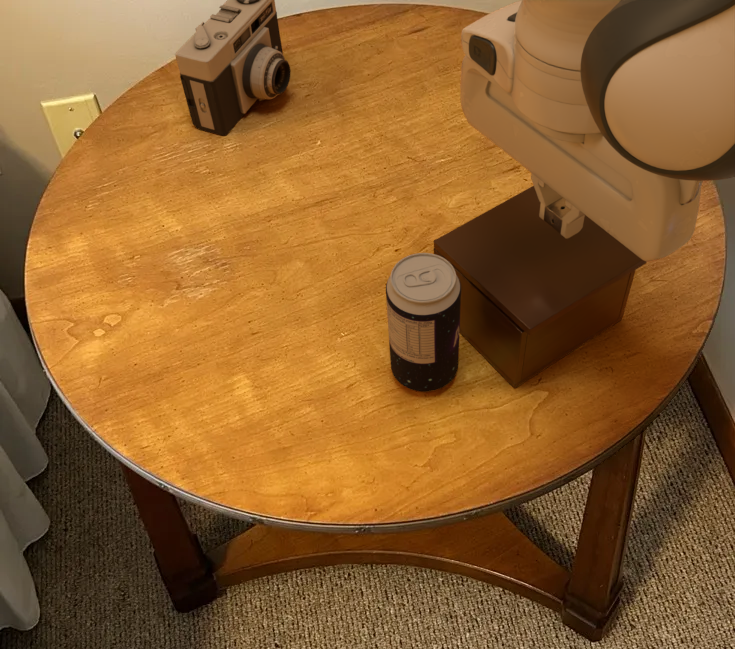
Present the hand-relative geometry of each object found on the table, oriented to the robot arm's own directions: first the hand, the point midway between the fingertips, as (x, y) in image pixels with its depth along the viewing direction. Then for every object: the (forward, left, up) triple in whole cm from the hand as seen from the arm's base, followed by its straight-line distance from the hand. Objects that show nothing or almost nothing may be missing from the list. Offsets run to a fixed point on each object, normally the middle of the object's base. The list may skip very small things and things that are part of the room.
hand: (560, 224), depth 66 cm
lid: (+2, 0, -5) cm, 5 cm away
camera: (+44, +4, -13) cm, 46 cm away
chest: (+2, 0, -13) cm, 13 cm away
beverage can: (+3, +11, -13) cm, 17 cm away
